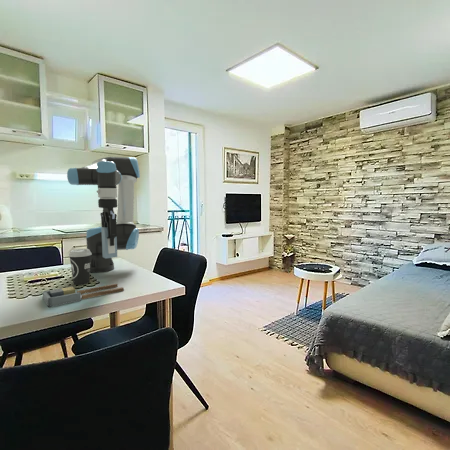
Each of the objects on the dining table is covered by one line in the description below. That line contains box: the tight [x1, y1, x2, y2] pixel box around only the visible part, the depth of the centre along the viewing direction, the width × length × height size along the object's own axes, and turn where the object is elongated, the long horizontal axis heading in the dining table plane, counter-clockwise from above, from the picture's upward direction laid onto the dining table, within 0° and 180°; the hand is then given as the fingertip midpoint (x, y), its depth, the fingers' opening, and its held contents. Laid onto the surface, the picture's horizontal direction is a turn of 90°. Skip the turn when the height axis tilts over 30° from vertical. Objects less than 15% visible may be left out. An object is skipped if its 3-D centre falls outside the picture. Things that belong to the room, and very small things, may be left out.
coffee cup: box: [68, 248, 92, 286], centre depth 134 cm, size 10×10×15 cm
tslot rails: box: [76, 283, 125, 300], centre depth 120 cm, size 8×16×1 cm, turn 131°
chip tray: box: [42, 286, 82, 308], centre depth 111 cm, size 11×10×3 cm
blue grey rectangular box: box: [100, 226, 118, 259], centre depth 127 cm, size 4×5×13 cm
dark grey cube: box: [48, 288, 64, 298], centre depth 110 cm, size 4×4×4 cm
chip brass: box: [62, 286, 77, 295], centre depth 113 cm, size 4×4×4 cm
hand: (109, 252), depth 128 cm, fingers closed on blue grey rectangular box, 4 cm apart
